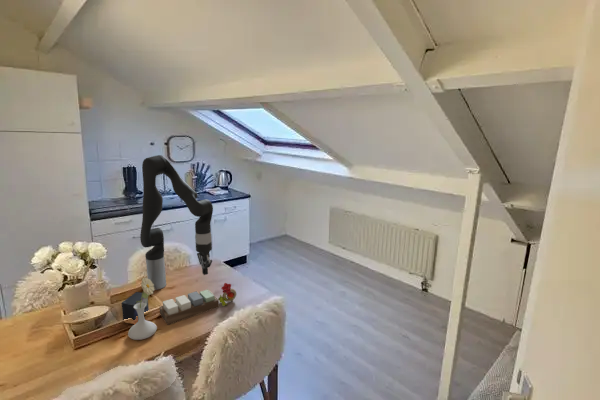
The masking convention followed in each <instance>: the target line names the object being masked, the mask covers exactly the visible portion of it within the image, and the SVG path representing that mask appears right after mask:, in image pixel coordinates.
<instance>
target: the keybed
mask: <svg viewBox="0 0 600 400" xmlns="http://www.w3.org/2000/svg"><path fill="white" fill-rule="evenodd" d="M218 299H219V298H217V297H216V296H215V300H213V301H210V302H207V303H206V302H205V301H204V300H203V304H202V305H199V306H196V307H194V306H193V305H192V304H191V308H190V309H187V310H184V311H181V310H180V309H179V307H178V313H175V314H172V315H169V316H168V314H167V313H166V312H165V310H164V309H163V305H161V306H159V315H160V314H161V315H160V316H161V318H162V320H163V321H164V322H165V324H166V326H169V325H173V324H175V323H178V322H181V321H184V320H187V319H189V318H192V317H196V316H198V315H201V314H204V313H206V312H210V311H213V310H215V309H217V308H219V307H220V304H219V302H220V301H219V300H218ZM174 302H175V303H176V301H174Z"/></svg>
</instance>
